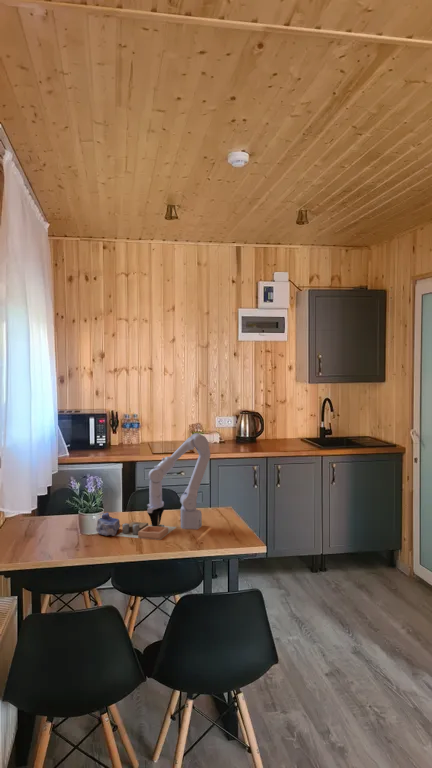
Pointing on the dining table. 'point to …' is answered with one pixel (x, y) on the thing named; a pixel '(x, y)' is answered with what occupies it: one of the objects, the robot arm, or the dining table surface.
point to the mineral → (107, 525)
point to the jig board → (136, 529)
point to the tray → (153, 532)
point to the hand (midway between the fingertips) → (156, 524)
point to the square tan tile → (142, 525)
